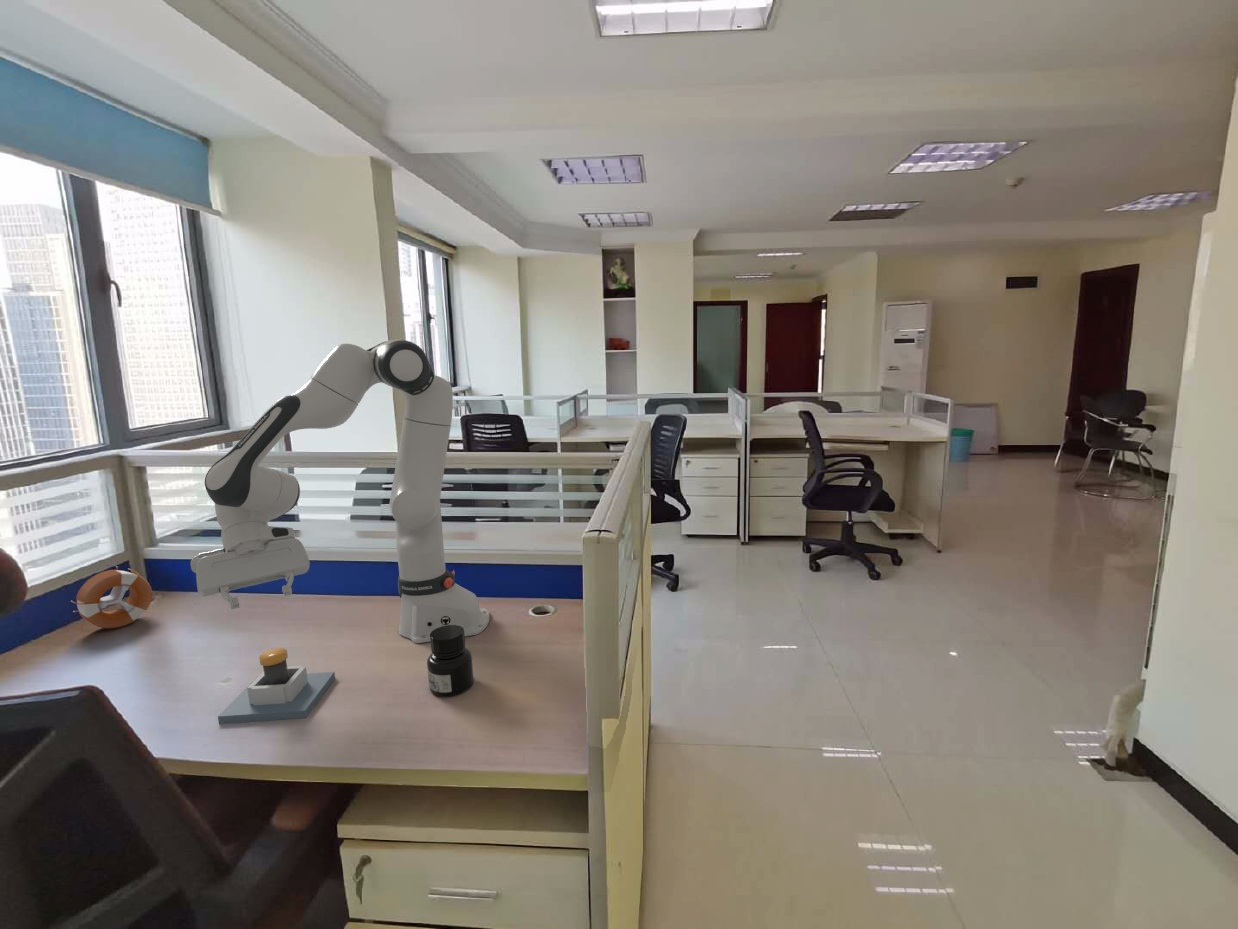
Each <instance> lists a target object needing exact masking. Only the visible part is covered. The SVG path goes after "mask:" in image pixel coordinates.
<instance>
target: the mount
mask: <svg viewBox="0 0 1238 929" xmlns="http://www.w3.org/2000/svg"><path fill="white" fill-rule="evenodd" d="M287 670H288V677H289V681H288V682H287V683H286V684H281V685H266V682H265V676H264V670H263V671H262V672H261V673H260V674H259V675H258V676H256V677H255V679H253V680H252V681H251V682H250V683H249V684H248V685H247V686H246V687H245V689H243V690H242V691H241V692H240V693H239V695H238V696H236V698H234V700H233V701H232V702H230V703H229V704H228V706H226V708H224V709H223V710H222V711H221V712H220V714H219V715H218V716H217V719H218V724H219V725H220V724H232V723H247V722H248V723H249V722H262V721H263V722H264V721H274V720H275V721H276V720H290V719H305V718H307V716H308V715H310V713H311V711H312V710H313V709H314V707H315V706H316V705H317V704H318V702H319V701H320V699H321V698H322V697H323V696H324V695H325V692H326V691H327V690H328V688H330V686H331V685H332V683H333V682H334V681H335V679H336V675H335V674H336V673H335V671H328V672H313V673H310V672H309V673H308V672H307V667H306V666H303V665H293V666H292V665H291V666H287Z"/></svg>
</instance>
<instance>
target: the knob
mask: <svg viewBox="0 0 1238 929" xmlns="http://www.w3.org/2000/svg"><path fill="white" fill-rule="evenodd" d="M258 658H259V664H260V665H261V666H262V668H263V671H264V676H265V682H266V685H281V684H286V683H287V682H288V681H289V677H288V670H287V667H288V666H287V665H288V664H287V659H288V658H289V656H288V649H286V648H283V647H280V648H279V647H277V648H272V649H269V650H266V651H264V652H262V653H261V654H260V655H259V657H258Z"/></svg>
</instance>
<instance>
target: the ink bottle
mask: <svg viewBox="0 0 1238 929" xmlns="http://www.w3.org/2000/svg"><path fill="white" fill-rule="evenodd" d="M430 648H431V649H430V650H431V654H429V656H428V658H427V660H426V667H427V678H428V686H429V690H430V692H431V693H432V694H434V695H435V696H438V697H443V698H444V697H452V696H457V695H459V694H462V693H464V692H466V691H467V690H469V689H470V688H471V687H472V686H473V684H474V671H473V670H474V669H473V658H472V652H471V651H470V650H469V649H468V648H466V636H465V634H464V628H463V627H461V626H458V625H447V626H442V627H439V628H436V629H435V630H433V631H432V632H431V633H430Z"/></svg>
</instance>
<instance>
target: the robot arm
mask: <svg viewBox="0 0 1238 929" xmlns="http://www.w3.org/2000/svg"><path fill="white" fill-rule="evenodd" d="M379 383H380V384H381V383H382V384H385V385H386V386H388V387H391V388H396V389H397V390H400V391H402V392H403V395H404V401H405V408H404V412H403V418H402V425H401V431H400V438H399V439H400V440H399V446H398V450H397V451H398V452H397V455H396V456H397V458H396V462H395V467H394V468H395V469H394V473H393V480H392V486H391V492H390V496H389V497H390V498H389V510H390V513H391V515H392V518H393V519H394V521H395V533H396V534H395V535H396V542H395V543H396V554H397V555H396V556H397V563H398V564H397V565H398V573H399V575H398V577H397V587H398V588H397V589H398V594H399V598H400V599H401V600H400V619H399V624H398V629H397V632H398V633H399V635H400V636H401V637H404V638H407V639H410V640H411V641H412V642H413V643H415V644H423V643H429V642H430V633H431V632H432V631H433V630H435V629H436V628H439V627H442V626H447V625H458V626H461V627H463V628H464V634H465V637H469V636H476V635H479V634H481V633H482V632H483V631H484V630H485V629H486V628H487V627H488V625H489V622H490V618H491V617H490V612H489V610H488V609H487V608H484V607H481V605H480V602H479V599H478V597H477V595H476V593H474V592H472V591H470V590H468V589H467V588H465V587H462V586H460V584H457V583H456V581H455V580H456V579H455V575H456V574H455V570H454V569H453V570H452V571H450V570H448V569H447V568H446V559H445V546H444V535H443V523H442V522H443V521H442V508H441V507H442V506H441V495H442V494H441V493H442V486H443V479H444V474H445V473H444V472H445V467H446V466H445V465H446V460H447V453H448V446H449V439H450V433H451V426H452V420H453V410H454V409H453V408H454V407H453V405H454V402H453V401H454V400H453V399H454V398H453V397H454V396H453V395H454V393H453V388H452V384H450V382H449V381H447V380H446V379H445V378H444V377H441V376H439V375H435V374H434V371H433V370H432V367H431V364H430V362H429V358H428V356H427V354H426V353H425V351H424V350H423V349H422V348H421V347H420V346H419V345H418V344H416V343H415V342H412V341H410V340H405V339H401V338H395V339H389V340H387V341H383V342H381V343H379V344H377V345H375V346H373V347H370V348H367V349H364V348H362V347H360V346H359V345H356V344H352V343H341V344H338V345H337V346H336V347H334V348H333V349H332V351H330V352H329V353H328V355H327V356H326V357H325V358H324V359H323V360H322V361H321V362H320V364H319V365H318V366H317V367H316V369H315V370H314V372H313V373H312V375H311V376H310V378H309V379H308V380H307V381H306V383H305V384H304V385H303V386H302V387H300V389H298V390H297V391H296V392H294V393H291V394H290V395H284V396H282V397H280V398H278V400H276V401H275V402H274V403H273V404H272V405H270V407H269V408H268V409H267V410H266V411H265V412H264V413H263V414H262V415H261V416H260V417H259V418H258V420H256V422H255V423H254V424H253V425H252V426H251V427H250V429H249V430H247V432H246V433H245V434H244V435H243V436H242V437H241V438H240V439H239V441H238V442H237V443H236V444H235V445H234V446H233V447H232V448H231V449H230V450H229V451H228V452H227V453H226V454H225V455H224V456H222V457H221V458H220V459H219V460H217V461H216V462H215V463H214V464H213V465H211V467H210V468H209V470H208V471H207V472H206V475H205V478H204V487H205V490H206V492H207V495H208V496H209V498H210V500H211V501H212V502H213V503H214V510H215V511H214V512H215V516H216V520H217V523H218V524H219V526H220V528H221V531H220V532H221V533H220V538H221V542H222V546H223V548H219V549H214V550H212V551H208V552H207V551H204V552H200V553H198V554H197V555H196V556H193V558H191V560H190V563H189V564H190V569H191V571H192V572H193V573H194V574H195V578H196V587H197V593H198V595H201V596H202V597H207V596H213V595H217V594H219V595H220V598H222V599H223V600H224V601H226V602H227V603H228V605H229V608H230V610H235V609H239V608H240V602H239V598H238V596H235V597H233V596H232V595H231V594H230V591H234V590H238V589H243V588H248V587H252V586H256V585H259V584H260V585H261V584H265V583H270V582H273V581H278V580H282V579H285V581H286V585H285V584H284V585H282V587H281V588H282V589H281V591H282V593H283V597H287V596H290V595H292V594H293V590H292V584H293V582H294V580H295V579H294V577H295V576H299V575H304V574H306V573H307V572H308V571H309V569H310V566H311V565H310V564H311V561H310V558H309V555H308V553H307V550H306V549H305V548H306V547H304V544H303V542H302V541H300V540H299V539H298V538H297V537H296V533H295V530H294V528H292V527H288V526H287V527H285V526H283V527H282V526H273V525H272V526H271V525H268V523H269V522H270V521H273V520H276V519H278V518H280V517H282V516H283V515H285V514H287V513H288V512H291V510H292V509H294V508H295V507H296V506H297V504H298V502H299V500H300V495H301V494H300V493H301V489H300V484H299V481H298V479H297V478H296V477H295V476H294V475H293V474H289V473H287V472H283V471H281V470H278V469H275V468H270V467H267V466H264V465H261V464H260V463H261V462H262V461H263V459H264V458H265V457H266V456H267V455H268V454H269V452H270V451H272V449H273V448H274V447H275V446H276V445H277V444H278V442H280V440H281V439H282V438H284V436H286V435H288V434H290V433H291V432H295V431H298V430H308V429H315V430H320V429H321V430H325V429H326V430H327V429H332V428H336V427H340V426H341V425H343V424H344V423H346V422H347V420H349V419H350V417H352V415H353V413H355V411H356V409H357V407H358V406H359V404H360V402H362V399H363V398H364V396H365V394H366V392H368V391H369V389H371V387H373V386H375V385H376V384H379ZM430 643H431V642H430Z"/></svg>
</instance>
